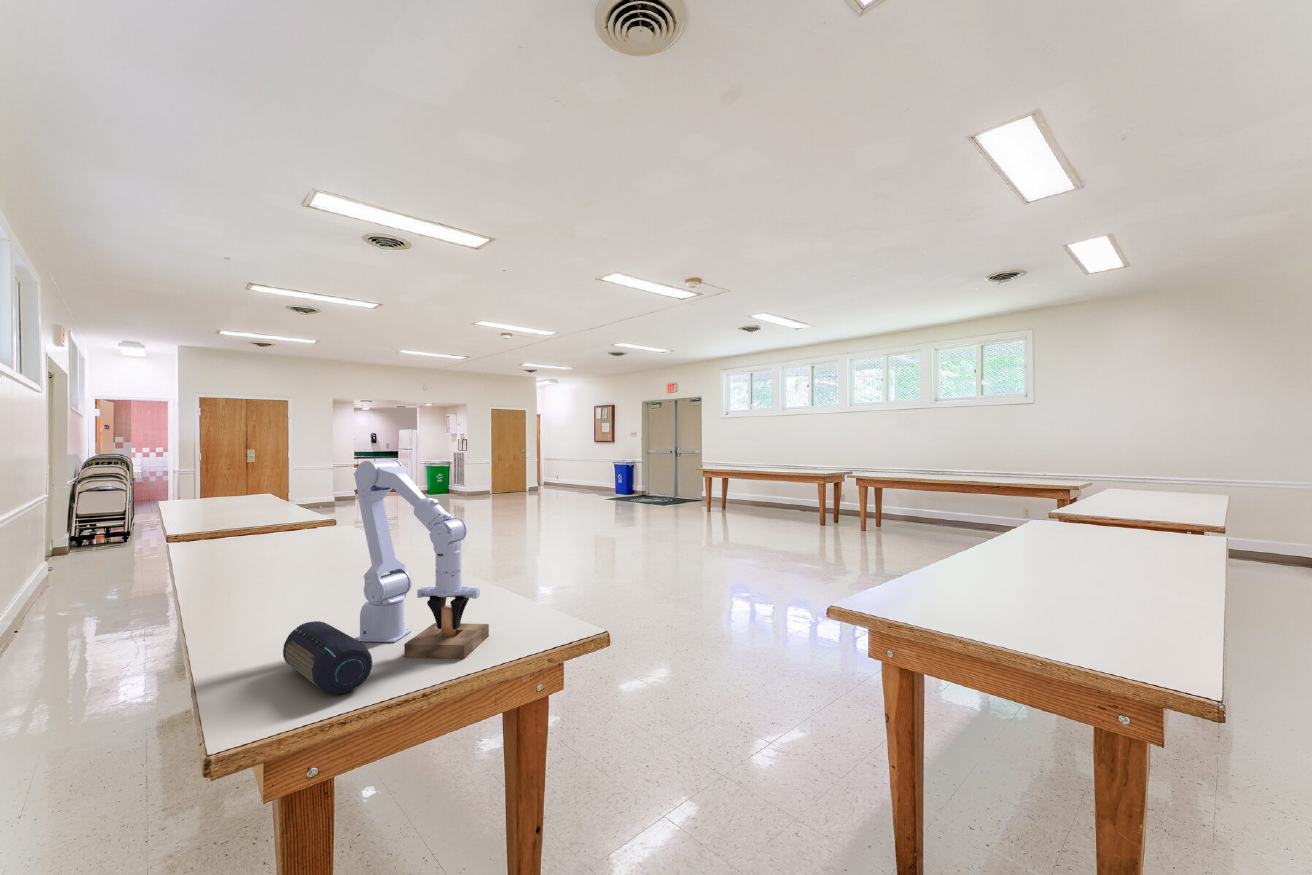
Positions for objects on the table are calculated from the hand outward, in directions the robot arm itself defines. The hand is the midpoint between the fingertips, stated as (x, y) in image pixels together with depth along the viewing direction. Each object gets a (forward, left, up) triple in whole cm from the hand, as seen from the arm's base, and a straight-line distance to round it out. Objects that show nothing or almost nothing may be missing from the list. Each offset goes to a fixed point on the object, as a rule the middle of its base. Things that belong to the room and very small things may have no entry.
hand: (448, 627), depth 127 cm
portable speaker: (-17, -19, -5) cm, 26 cm away
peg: (0, 0, -2) cm, 2 cm away
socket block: (0, 0, -4) cm, 4 cm away
